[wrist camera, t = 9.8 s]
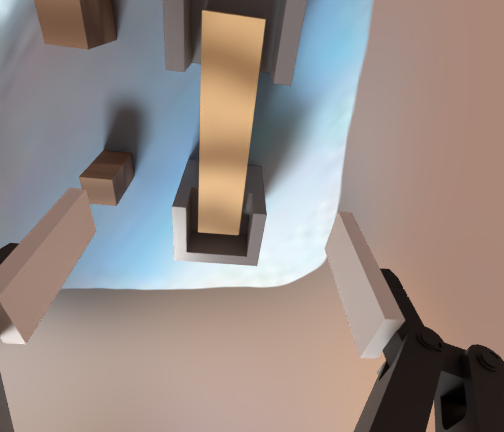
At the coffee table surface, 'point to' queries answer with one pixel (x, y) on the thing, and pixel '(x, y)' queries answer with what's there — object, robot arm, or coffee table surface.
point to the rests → (86, 37)
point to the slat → (226, 115)
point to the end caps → (253, 208)
